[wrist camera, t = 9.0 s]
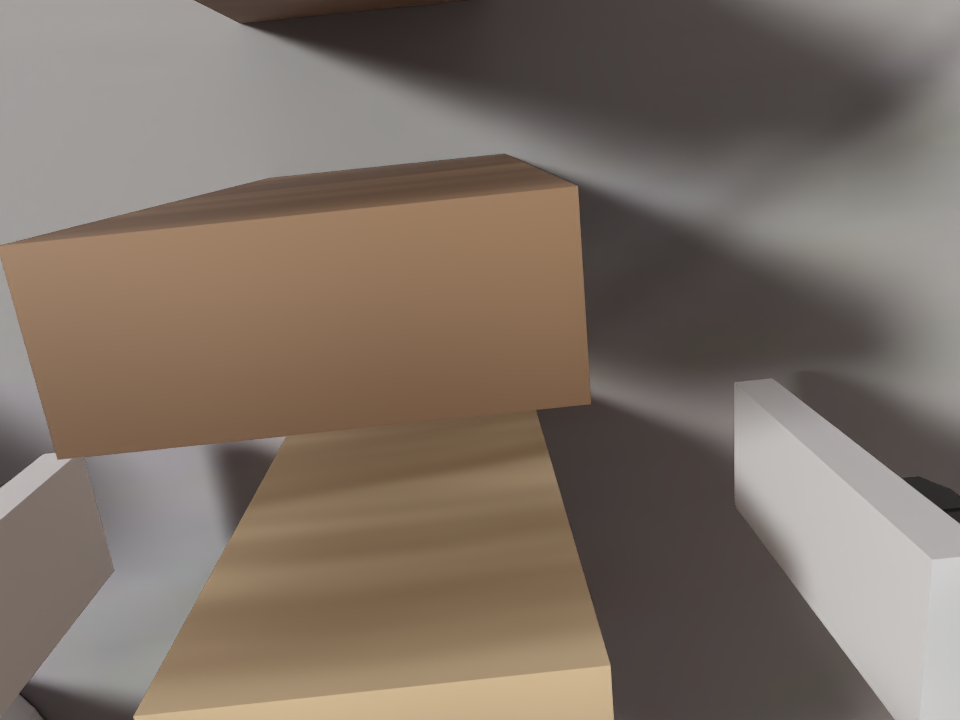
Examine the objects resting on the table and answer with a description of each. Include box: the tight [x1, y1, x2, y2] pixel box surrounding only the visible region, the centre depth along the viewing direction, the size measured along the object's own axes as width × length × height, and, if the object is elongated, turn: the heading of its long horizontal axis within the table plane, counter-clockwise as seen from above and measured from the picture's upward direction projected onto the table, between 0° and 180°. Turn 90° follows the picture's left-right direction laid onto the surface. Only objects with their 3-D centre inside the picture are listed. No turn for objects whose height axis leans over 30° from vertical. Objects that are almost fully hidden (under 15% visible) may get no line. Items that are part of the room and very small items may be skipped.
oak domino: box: [133, 410, 614, 720], centre depth 13 cm, size 2×5×10 cm, turn 96°
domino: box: [0, 154, 591, 460], centre depth 12 cm, size 2×5×10 cm, turn 95°
